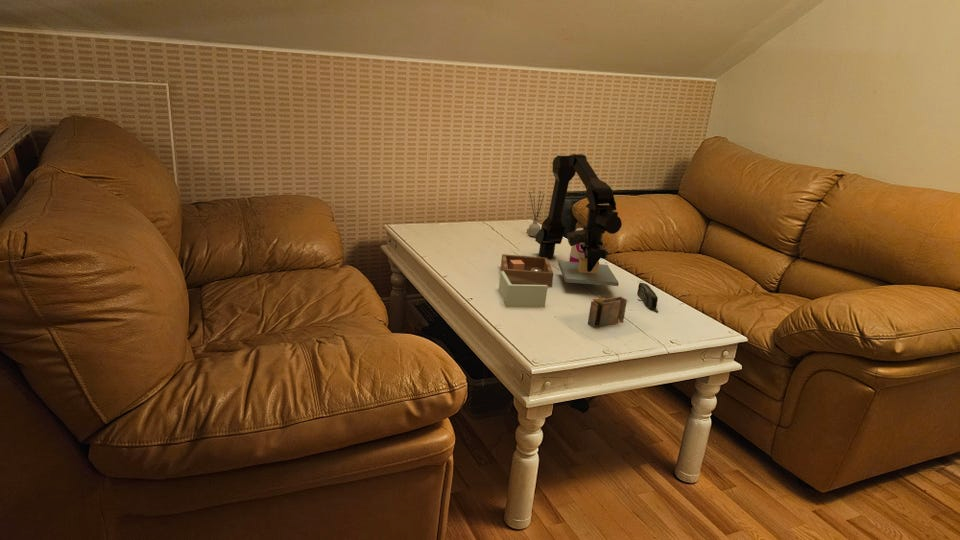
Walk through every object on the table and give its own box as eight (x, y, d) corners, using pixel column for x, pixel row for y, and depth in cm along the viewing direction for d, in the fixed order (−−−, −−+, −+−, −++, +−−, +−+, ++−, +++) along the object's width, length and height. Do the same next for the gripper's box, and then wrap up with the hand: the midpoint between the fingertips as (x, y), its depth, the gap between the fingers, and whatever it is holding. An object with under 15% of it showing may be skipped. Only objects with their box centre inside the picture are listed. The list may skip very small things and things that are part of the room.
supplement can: (590, 275, 213) (597, 235, 208) (567, 272, 214) (573, 232, 209) (591, 268, 221) (597, 229, 216) (568, 265, 222) (574, 226, 217)
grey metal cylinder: (529, 278, 203) (530, 267, 202) (539, 278, 203) (541, 267, 202) (530, 282, 200) (531, 270, 198) (540, 282, 200) (542, 271, 198)
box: (500, 268, 212) (502, 254, 210) (545, 272, 212) (547, 257, 210) (502, 285, 196) (504, 269, 195) (551, 289, 197) (553, 273, 195)
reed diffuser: (544, 239, 251) (550, 192, 244) (530, 240, 248) (535, 192, 241) (531, 232, 259) (537, 186, 252) (517, 233, 256) (523, 186, 249)
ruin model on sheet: (594, 330, 171) (599, 298, 168) (587, 325, 174) (592, 294, 170) (623, 324, 177) (629, 293, 174) (616, 320, 179) (622, 290, 176)
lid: (558, 264, 208) (560, 249, 206) (606, 268, 208) (609, 253, 207) (565, 282, 192) (567, 266, 190) (618, 286, 192) (620, 271, 191)
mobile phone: (637, 281, 199) (653, 297, 184) (646, 281, 199) (662, 298, 185) (635, 295, 200) (650, 312, 186) (643, 295, 201) (660, 313, 186)
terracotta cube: (508, 270, 208) (509, 260, 207) (519, 270, 209) (520, 259, 208) (512, 275, 204) (513, 264, 203) (523, 274, 206) (524, 263, 204)
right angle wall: (544, 308, 183) (547, 286, 180) (506, 308, 181) (508, 285, 178) (534, 293, 194) (537, 271, 191) (498, 293, 192) (500, 271, 189)
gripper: (566, 214, 202) (559, 258, 208) (575, 230, 185) (568, 277, 190) (598, 217, 203) (591, 261, 208) (611, 233, 185) (603, 280, 191)
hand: (588, 269), depth 199 cm, fingers closed on lid, 3 cm apart
